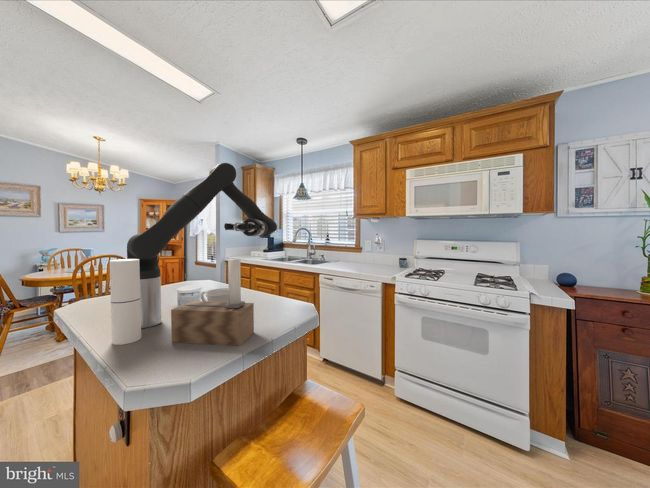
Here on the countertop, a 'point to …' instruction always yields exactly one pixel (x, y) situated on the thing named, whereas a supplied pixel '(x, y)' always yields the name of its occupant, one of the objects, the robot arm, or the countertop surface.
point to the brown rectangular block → (212, 323)
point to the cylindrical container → (125, 301)
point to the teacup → (216, 295)
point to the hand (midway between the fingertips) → (236, 226)
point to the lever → (234, 284)
